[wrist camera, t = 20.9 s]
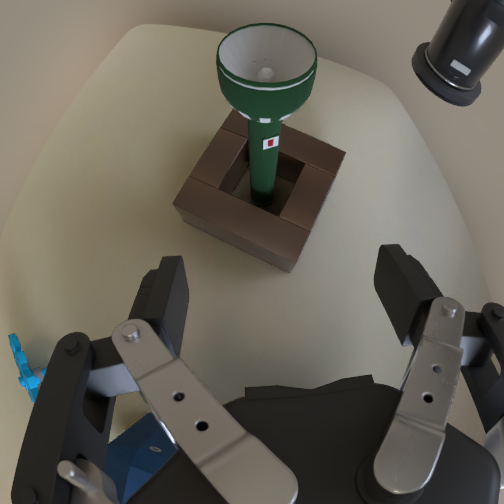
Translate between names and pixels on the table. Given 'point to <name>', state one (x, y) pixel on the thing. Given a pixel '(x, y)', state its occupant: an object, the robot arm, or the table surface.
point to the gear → (26, 369)
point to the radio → (137, 456)
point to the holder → (247, 215)
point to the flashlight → (265, 90)
